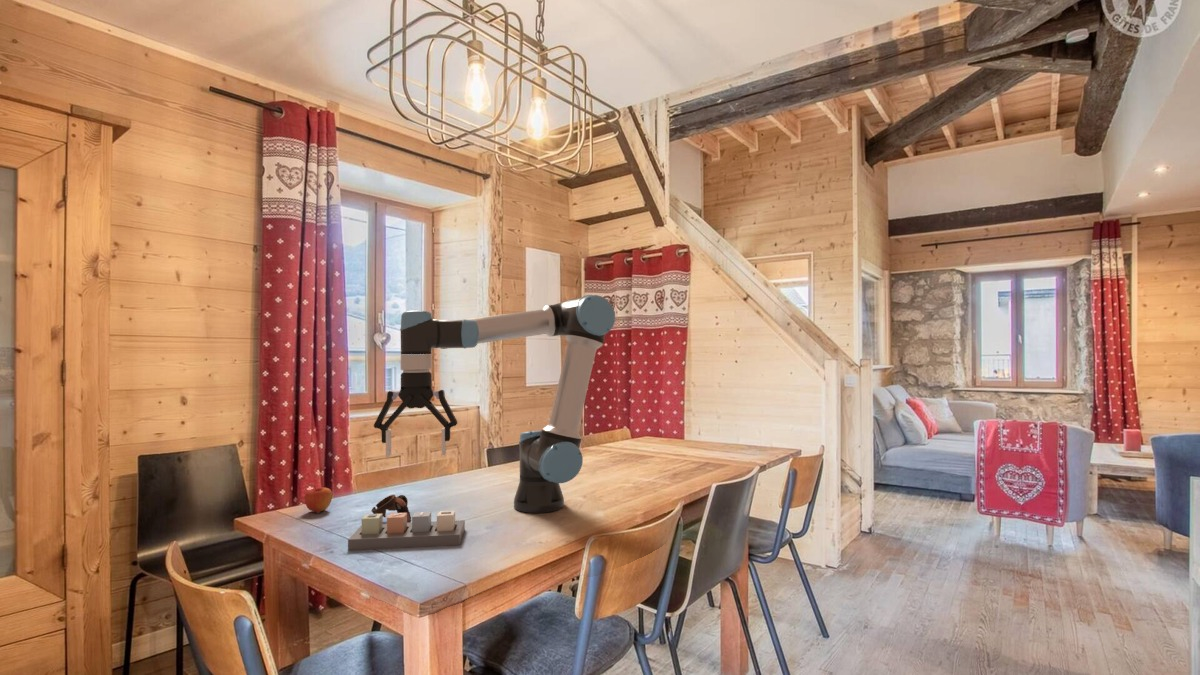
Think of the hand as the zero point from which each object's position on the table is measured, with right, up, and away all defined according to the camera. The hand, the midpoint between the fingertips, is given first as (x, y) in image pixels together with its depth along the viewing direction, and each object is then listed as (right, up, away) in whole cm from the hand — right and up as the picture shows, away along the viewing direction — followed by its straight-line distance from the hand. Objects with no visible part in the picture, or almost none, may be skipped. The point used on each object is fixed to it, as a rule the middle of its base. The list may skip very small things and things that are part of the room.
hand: (416, 455), depth 146 cm
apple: (-37, -22, +24) cm, 49 cm away
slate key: (+2, -19, -1) cm, 19 cm away
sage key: (-10, -19, -3) cm, 21 cm away
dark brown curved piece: (-11, -22, +15) cm, 28 cm away
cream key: (+8, -19, -1) cm, 20 cm away
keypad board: (-1, -21, -2) cm, 21 cm away
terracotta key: (-4, -19, -2) cm, 19 cm away
